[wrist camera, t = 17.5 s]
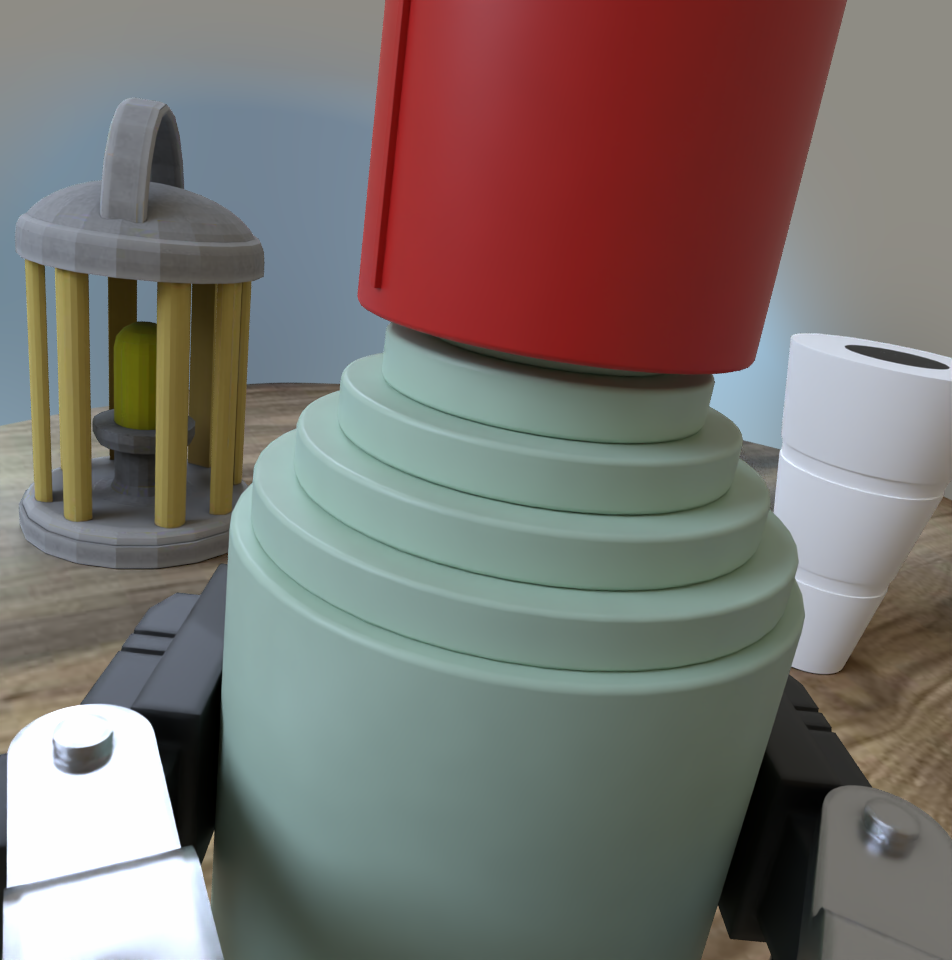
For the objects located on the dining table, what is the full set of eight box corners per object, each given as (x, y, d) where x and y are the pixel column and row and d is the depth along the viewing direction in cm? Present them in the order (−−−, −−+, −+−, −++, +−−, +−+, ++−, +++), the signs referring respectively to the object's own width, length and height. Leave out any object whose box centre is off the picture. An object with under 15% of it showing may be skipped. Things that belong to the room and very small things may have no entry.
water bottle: (263, 1716, 9) (533, -372, 3) (151, 1178, 14) (179, -96, 8) (656, 1384, 13) (1162, -2, 6) (458, 1034, 17) (644, 42, 11)
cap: (484, 375, 6) (587, -315, 5) (293, 280, 9) (323, -147, 8) (841, 377, 8) (977, -92, 7) (586, 300, 11) (646, -31, 10)
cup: (730, 589, 57) (804, 326, 51) (899, 646, 53) (1002, 366, 46) (693, 656, 48) (777, 345, 42) (893, 730, 44) (1020, 397, 37)
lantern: (62, 470, 60) (51, 87, 51) (267, 487, 62) (289, 124, 54) (-20, 559, 46) (-53, 64, 38) (244, 576, 49) (268, 114, 40)
